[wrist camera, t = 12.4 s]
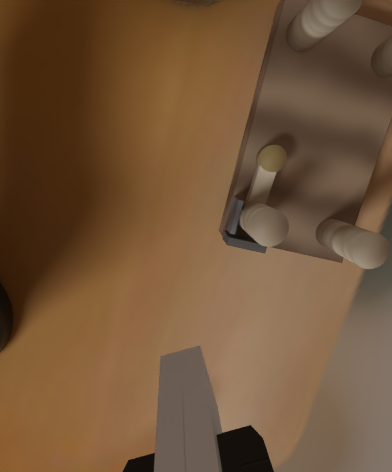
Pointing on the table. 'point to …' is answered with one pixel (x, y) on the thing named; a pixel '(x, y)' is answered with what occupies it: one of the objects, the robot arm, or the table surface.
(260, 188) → the hinged leg
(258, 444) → the robot arm
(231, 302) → the table surface
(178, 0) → the bread roll
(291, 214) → the peg board
